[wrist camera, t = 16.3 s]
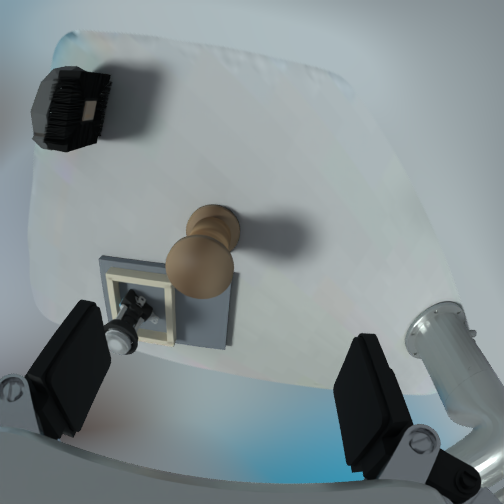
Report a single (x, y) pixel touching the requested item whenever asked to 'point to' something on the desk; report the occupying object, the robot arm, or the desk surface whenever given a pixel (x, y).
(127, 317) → the push button
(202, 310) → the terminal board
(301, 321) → the desk surface
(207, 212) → the wooden cabinet knob
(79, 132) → the cpu cooler
